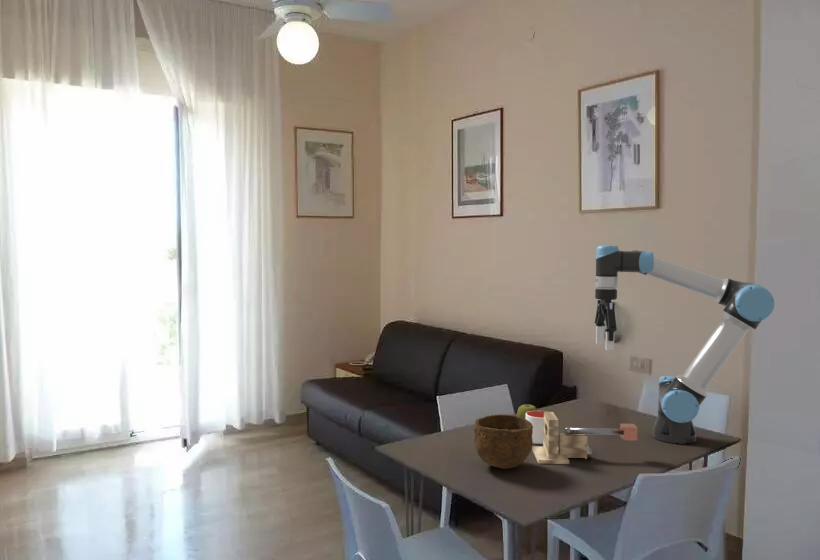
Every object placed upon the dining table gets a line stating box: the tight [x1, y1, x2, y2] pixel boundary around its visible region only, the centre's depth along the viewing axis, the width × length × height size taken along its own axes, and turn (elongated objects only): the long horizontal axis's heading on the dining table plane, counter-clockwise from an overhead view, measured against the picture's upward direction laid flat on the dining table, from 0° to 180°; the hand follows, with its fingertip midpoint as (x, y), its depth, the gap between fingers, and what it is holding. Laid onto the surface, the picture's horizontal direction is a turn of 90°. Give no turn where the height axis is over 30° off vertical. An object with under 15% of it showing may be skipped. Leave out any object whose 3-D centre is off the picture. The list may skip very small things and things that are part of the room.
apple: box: [516, 404, 538, 419], centre depth 257 cm, size 8×8×7 cm
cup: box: [525, 410, 547, 445], centre depth 234 cm, size 10×10×10 cm
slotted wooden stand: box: [531, 411, 589, 465], centre depth 217 cm, size 17×14×14 cm
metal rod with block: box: [563, 423, 639, 442], centre depth 216 cm, size 24×4×4 cm, turn 88°
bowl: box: [473, 413, 533, 470], centre depth 207 cm, size 19×19×15 cm
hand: (604, 347), depth 232 cm, fingers open, 13 cm apart
